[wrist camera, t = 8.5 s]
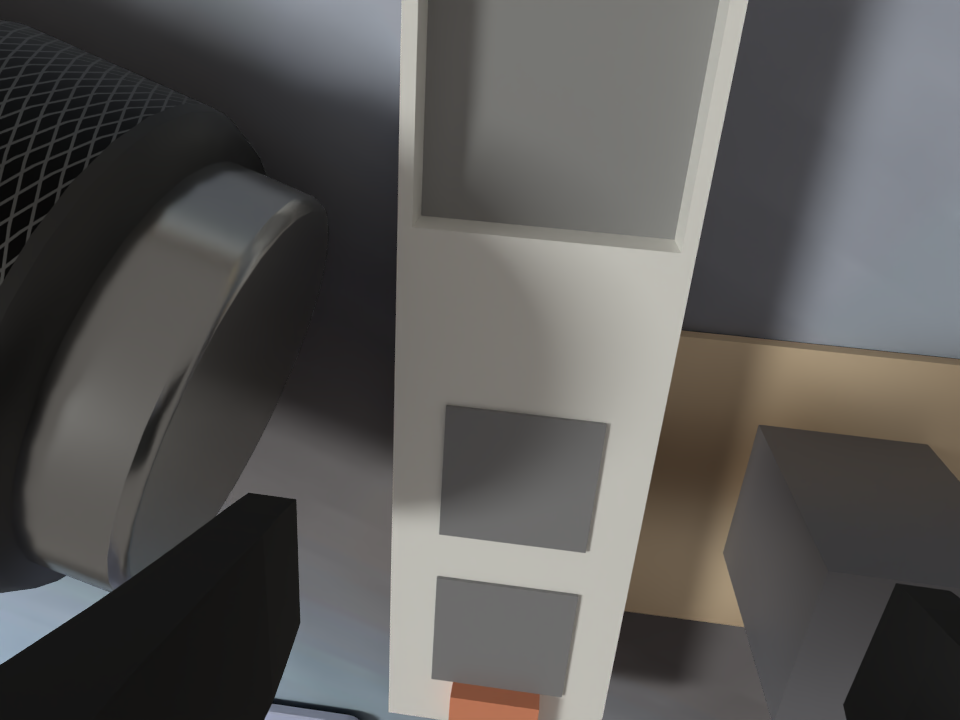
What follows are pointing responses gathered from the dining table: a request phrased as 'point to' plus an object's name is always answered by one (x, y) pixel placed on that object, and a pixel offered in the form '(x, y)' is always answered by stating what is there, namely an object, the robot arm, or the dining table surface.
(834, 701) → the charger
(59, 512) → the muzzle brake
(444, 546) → the socket strip
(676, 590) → the coaster
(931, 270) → the dining table surface
